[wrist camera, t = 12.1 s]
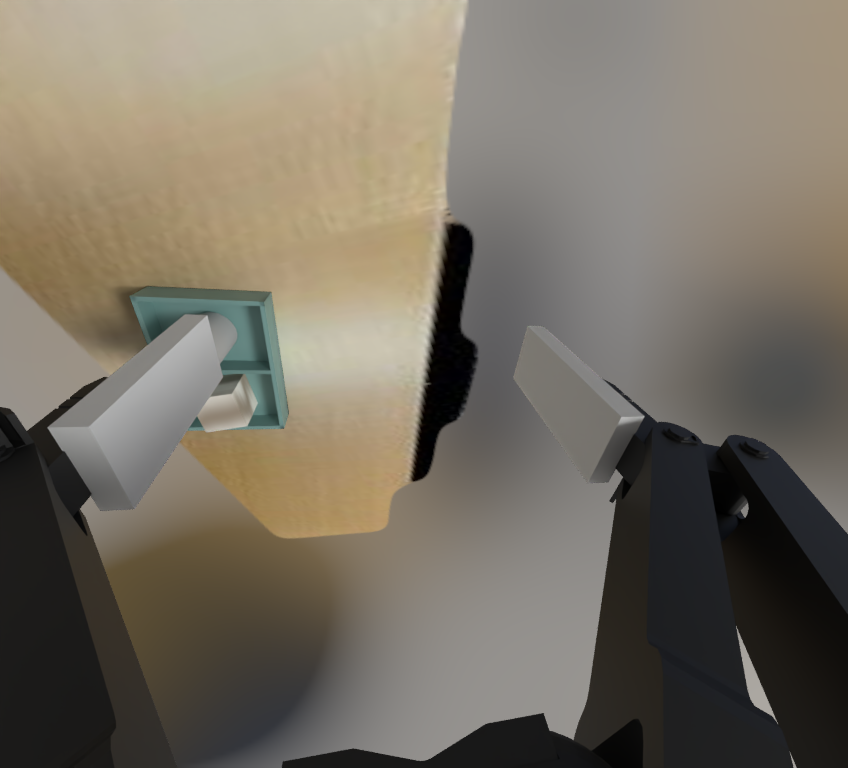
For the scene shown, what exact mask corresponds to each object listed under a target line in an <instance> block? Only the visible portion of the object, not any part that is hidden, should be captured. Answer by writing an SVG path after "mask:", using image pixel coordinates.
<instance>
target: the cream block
mask: <svg viewBox="0 0 848 768" xmlns="http://www.w3.org/2000/svg"><path fill="white" fill-rule="evenodd" d="M257 404H258V402H257V400H256V398H255V395H254V393H253V391H252V388H251V386H250V384H249V382H248V379H247V377H246V375H245V374H229V375H223V378H222V379H221V381H220V382H219V384H218V385H217V387H216V388H215V390H214V391H213V393H212V394H211V396H210V397H209V399H208V400H207V402H206V403H205V405H204V406H203V408H202V409H201V411H200V412H199V414H198V415H197V417H198V419H199V421H200V422H201V424H202V426H203V428H204V429H205V431H206V432H212V431H219V430H226V429H232V428H239V427H245V426H248V424H249V422H250V419H251V417H252V415H253V413H254V411H255V408H256V406H257Z"/></svg>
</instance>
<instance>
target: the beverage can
mask: <svg viewBox="0 0 848 768" xmlns="http://www.w3.org/2000/svg"><path fill="white" fill-rule="evenodd" d="M200 315H207V316H208V320H209V324H210V328H211V332H212V336H213V340H214V344H215V347H216V351H217V355H218V359H219V363H221V362H222V361H223V359H224V358H225V356H226V355H227V354H228V352H229V351H230V349H231V348H232V347H233V345H234V344H235V342H236V340H237V330H236V328H235V326H234V325H233V324H232V323H231V321H230V320H229V319H227V318H226V317H224V316H223V315H220V314H218V313H214V312H205V313H202V314H200Z"/></svg>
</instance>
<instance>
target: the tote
mask: <svg viewBox="0 0 848 768" xmlns="http://www.w3.org/2000/svg"><path fill="white" fill-rule="evenodd" d="M129 297H130V299H131V302H132V305H133V307H134V310H135V313H136V315H137V318H138V321H139V323H140V326H141V329H142V331H143V334H144V337H145V339H146V342H147V345H148V344H149V343H151V342H152V341H153V340H154V339H156V338H157V337H158V336H159V335H160V334H162V333H163V332H164V331H165V330H166V329H168V328H169V327H170V326H171V325H173V324H174V323H175V322H176V321H177V320H179V319H180V318H181V317H182V316H184V315H185V314H190V315H200V314H202V313H205V312H214V313H218V314H220V315H223V316H224V317H226V318H227V319H229V320H230V321H231V323H232V324H233V325H234V326H235V328H236V330H237V340H236V342H235V344H234V345H233V347H232V348H231V349H230V351H229V352H228V354H227V355H226V356H225V358H224V359H223V361H222V362H221V363H220V367H221V371H222V375H229V374H245V375H246V377H247V379H248V382H249V384H250V386H251V388H252V391H253V393H254V395H255V398H256V400H257V402H258V404H257V406H256V408H255V411H254V413H253V415H252V417H251V419H250V422H249V424H248V426H245V427H239V428H232V429H226V430H240V429H284V427H285V424H286V421H287V417H288V414H289V411H288V404H287V397H286V390H285V384H284V377H283V370H282V363H281V356H280V349H279V342H278V335H277V329H276V322H275V315H274V308H273V301H272V294H271V292H260V291H239V290H217V289H195V288H174V287H152V286H147V287H145V288H144V289H142V290H140V291H138V292H136V293H134V294H133V295H131V296H129ZM192 430H205V429H204V428H203V426H202V424H201V422H200V421H199V419H198V417H196V418H195V420H194V421H193V423H192V424H191V426H190V427H189V429H188V430H187V431H192Z"/></svg>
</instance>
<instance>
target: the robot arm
mask: <svg viewBox="0 0 848 768" xmlns="http://www.w3.org/2000/svg"><path fill="white" fill-rule="evenodd" d="M222 378H223V375H222V371H221V367H220V363H219V359H218V355H217V351H216V347H215V344H214V340H213V336H212V332H211V328H210V324H209V320H208V316H207V315H190V314H185V315H184V316H182V317H181V318H180V319H179V320H177V321H176V322H175V323H174V324H173V325H171V326H170V327H169V328H168V329H166V330H165V331H164V332H163V333H162V334H160V335H159V336H158V337H157V338H156V339H154V340H153V341H152V342H151V343H149V344H148V345H147V346H146V347H145V348H143V349H142V350H141V351H140V352H139V353H137V354H136V355H135V356H134V357H132V358H131V359H130V360H129V361H128V362H126V363H125V364H124V365H123V366H122V367H120V368H119V369H118V370H117V371H115V372H114V373H113V374H112V375H111V376H109V377H103V378H101V379H99V380H97V381H94V382H93V383H90V384H88V385H86V386H84V387H83V388H81V389H80V390H79V391H78V392H76V393H75V394H74V395H72V396H71V397H70V399H68V400H66V401H65V402H63V403H62V404H61V405H60V406H59V408H58V409H55V410H53V411H52V412H51V413H49V414H48V415H47V416H45V417H44V418H43V419H42V420H40V421H39V422H38V423H37V424H35V425H34V426H33V427H32V428H30V429H29V430H28V431H26V430H25V428H24V427H23V425H22V424H21V422H20V421H19V420H18V418H17V416H16V415H15V413H14V412H12V411H11V410H10V409H8V408H2V407H0V768H178V767H177V765H176V762H175V760H174V756H173V754H172V751H171V748H170V746H169V743H168V740H167V737H166V735H165V732H164V729H163V727H162V724H161V721H160V718H159V716H158V713H157V710H156V708H155V705H154V702H153V700H152V697H151V694H150V692H149V689H148V686H147V684H146V681H145V678H144V675H143V672H142V670H141V667H140V664H139V661H138V659H137V656H136V653H135V651H134V648H133V645H132V642H131V640H130V637H129V634H128V632H127V629H126V626H125V623H124V621H123V618H122V615H121V613H120V610H119V607H118V604H117V602H116V599H115V596H114V594H113V591H112V588H111V586H110V583H109V580H108V577H107V574H106V572H105V569H104V566H103V564H102V561H101V558H100V556H99V553H98V550H97V547H96V545H95V542H94V539H93V536H92V534H91V531H90V528H89V526H88V523H87V520H86V518H85V516H84V515H83V513H82V512H81V510H80V508H81V506H82V505H83V504H84V503H85V502H86V500H87V499H88V498H89V497H90V496H91V497H92V499H93V500H94V501H95V503H96V505H97V506H98V508H99V509H100V511H109V510H128V509H135V508H136V506H137V504H138V503H139V502H140V500H141V498H142V497H143V496H144V494H145V492H146V491H147V489H148V488H149V486H150V485H151V483H152V482H153V481H154V479H155V478H156V476H157V475H158V473H159V472H160V470H161V469H162V467H163V466H164V464H165V463H166V461H167V460H168V458H169V457H170V455H171V454H172V452H173V451H174V449H175V448H176V446H177V445H178V443H179V442H180V440H181V439H182V437H183V436H184V434H185V433H186V432H187V430H188V429H189V427H190V426H191V424H192V423H193V421H194V420H195V418H196V417H197V415H198V414H199V412H200V411H201V409H202V408H203V406H204V405H205V403H206V402H207V400H208V399H209V397H210V396H211V394H212V393H213V391H214V390H215V388H216V387H217V385H218V384H219V382H220V381H221V379H222ZM513 379H514V380H515V381H516V383H517V384H518V385H519V387H520V388H521V390H522V391H523V393H524V394H525V396H526V397H527V398H528V400H529V401H530V403H531V404H532V405H533V406H534V408H535V410H536V411H537V413H538V414H539V415H540V417H541V418H542V420H543V421H544V422H545V424H546V425H547V427H548V428H549V430H550V431H551V432H552V434H553V435H554V437H555V438H556V439H557V441H558V442H559V444H560V445H561V446H562V448H563V449H564V451H565V452H566V454H567V455H568V456H569V458H570V459H571V460H572V462H573V463H574V465H575V466H576V468H577V469H578V471H579V472H580V473H581V475H582V476H583V477H584V479H585V480H586V482H587V483H604V482H609V480H610V478H611V476H612V475H613V473H614V471H615V469H617V470H618V472H619V473H620V474H621V475H622V476H623V479H622V480H621V482H620V484H619V485H618V487H617V489H616V491H615V492H614V494H613V496H612V497H611V499H610V502H612V503H613V502H614V501H615V499H616V506H615V513H614V520H613V527H612V534H611V541H610V548H609V555H608V561H607V568H606V575H605V583H604V589H603V596H602V603H601V611H600V617H599V625H598V631H597V638H596V645H595V652H594V659H593V666H592V673H591V680H590V687H589V693H588V699H587V702H586V705H585V708H584V711H583V713H582V715H581V718H580V720H579V723H578V726H577V729H576V733H575V737H574V740H572V739H570V738H568V737H566V736H563V735H561V734H558V733H555V732H553V731H549V728H548V725H547V722H546V719H545V716H544V713H542V714H536V715H531V716H526V717H520V718H515V719H510V720H504V721H499V722H493V723H488V724H485V725H483V726H482V727H480V728H479V729H477V730H476V731H474V732H472V733H471V734H469V735H468V736H466V737H464V738H463V739H461V740H460V741H458V742H456V743H455V744H453V745H452V746H450V747H448V748H447V749H445V750H444V751H442V752H440V753H439V754H437V755H436V756H434V757H432V758H431V759H429V760H426V761H416V760H410V759H406V758H400V757H395V756H390V755H385V754H379V753H374V752H369V751H364V750H359V749H348V750H343V751H337V752H332V753H327V754H322V755H316V756H311V757H306V758H300V759H295V760H289V761H284V762H283V764H282V768H793V764H792V760H791V756H790V753H791V755H792V758H793V760H794V762H795V764H796V767H797V768H848V534H847V533H846V532H845V531H844V529H843V528H842V527H841V526H840V525H839V523H838V522H837V521H836V520H835V519H834V518H833V517H832V515H831V514H830V513H829V512H828V511H827V510H826V509H825V507H824V506H823V505H822V504H821V503H820V501H819V500H818V499H817V498H816V497H815V496H814V494H813V493H812V492H811V491H810V490H809V489H808V488H807V486H806V485H805V484H804V483H803V482H802V481H801V479H800V478H799V477H798V476H797V475H796V474H795V472H794V471H793V470H792V469H791V468H790V467H789V466H788V464H787V463H786V462H785V461H784V460H783V458H781V456H780V455H778V453H776V452H775V451H774V450H773V449H771V448H770V447H768V446H766V444H764V443H762V442H760V441H759V442H758V440H756V439H753V438H748V437H745V436H739V435H731V436H728V438H727V439H726V440H725V441H724V443H723V444H722V446H721V447H719V446H713V445H708V444H703V443H702V441H701V440H700V439H699V438H698V437H697V436H696V435H695V434H694V433H692V432H690V431H689V430H687V429H685V428H683V427H681V426H678V425H675V424H672V423H668V422H658V423H657V422H656V421H655V420H654V419H653V418H652V417H650V416H649V415H648V414H647V413H646V412H645V411H643V410H642V409H641V408H640V407H639V406H638V405H637V404H636V403H634V402H632V400H631V399H630V398H629V397H628V396H626V395H624V393H623V392H622V391H621V390H619V389H618V388H617V387H616V386H615V385H613V384H611V383H610V382H608V381H606V380H604V379H602V378H601V377H600V376H598V375H597V374H596V373H595V372H594V371H593V370H592V369H591V368H590V367H588V366H587V365H586V364H585V363H584V362H583V361H581V359H579V358H578V357H577V356H576V355H575V354H574V353H573V352H572V351H570V350H569V349H568V348H567V347H566V346H565V345H564V344H562V343H561V342H560V341H559V340H558V339H557V338H556V337H555V336H553V335H552V334H551V333H550V332H549V331H548V330H547V329H546V328H544V327H543V326H527V330H526V334H525V337H524V341H523V345H522V348H521V352H520V356H519V359H518V363H517V366H516V370H515V374H514V377H513ZM747 503H748V505H749V510H748V514H747V516H746V518H745V517H744V516H743V514H742V513H741V509H742V508H743V507H744V506H745V505H746V504H747ZM736 626H737V629H738V631H739V633H740V636H741V638H742V640H743V643H744V645H745V647H746V650H747V652H748V654H749V657H750V659H751V661H752V664H753V666H754V668H755V670H756V673H757V675H758V678H759V680H760V683H761V685H762V687H763V689H764V692H765V694H766V697H767V699H768V701H769V703H770V706H771V708H772V711H773V713H774V715H775V718H776V720H777V722H778V724H777V722H776V721H775V720H774V718H773V717H772V716H771V715H769V714H767V713H766V712H764V711H762V710H760V709H759V708H757V707H755V706H754V704H753V703H752V701H751V700H750V697H749V693H748V690H747V685H746V679H745V674H744V668H743V662H742V657H741V652H740V646H739V640H738V635H737V629H736Z"/></svg>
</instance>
